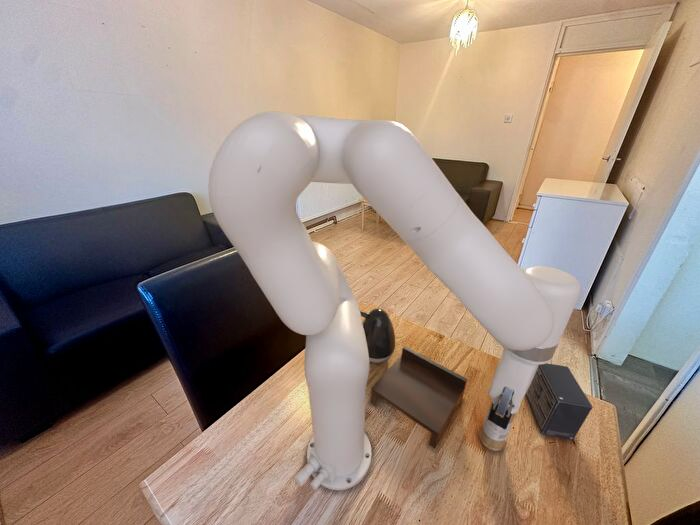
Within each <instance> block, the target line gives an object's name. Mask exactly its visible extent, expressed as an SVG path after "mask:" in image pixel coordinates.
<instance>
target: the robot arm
mask: <svg viewBox="0 0 700 525" xmlns="http://www.w3.org/2000/svg"><path fill="white" fill-rule="evenodd" d="M311 183H324V184H340V185H341V184H342V185H343V184H344V185H352V186H353V187H354V188H355V190H356V191H357V193H358V194H359V195H360V196H361V197H362V198H363V199H364V201H366V202H367V203H368V205H370V207H371V208H372V209H373V210H374V212H376V213H377V214H378V215H379V217H381V218H382V219H383V221H384V222H386V223H387V224H388V226H389V227H390V228H391V229H392V230H393V231H394V232H395V233H396V234H397V235H398V236H399V237H400V239H401V240H402V241H403V242H404V243H405V245H407V246H408V248H410V250H411V251H412V252H413V253H414V254H415V255H416V256H417V257H418V259H419V261H421V262H422V264H423V265H424V266H425V267H426V268H427V269H428V270H429V271H430V272H431V274H432V275H434V277H436V279H438V280H439V281H440V282H441V283H442V284H443V285H444V286H445V287H446V288H447V289H448V290H449V291H450V292H451V293H452V294H453V295H454V297H456V299H457V300H458V301H459V302H460V303H461V304H462V306H464V308H465V309H466V310H467V311H468V312H469V314H470V315H472V317H473V318H474V319H475V321H477V322H478V323H479V324H480V325H481V327H483V329H484V330H485V331H486V332H487V333H488V334H489V335H490V336H491V337H492V338H493V339H494V340H495V342H496V343H498V344H499V345H500V346H502V348H503V350H502V352H501V354H500V357H499V361H498V363H497V365H496V368H495V371H494V375H493V377H492V380H491V383H490V386H489V388H488V390H487V394H488V397H490V398H491V399H492V398H496V400H495V403H494V404H493V405H492V407H491V410H490V413H489V416H488V420H489V421H491V422H493V423H494V424H496V425H498V426H499V427H501V428H503V429H506V428H507V426H508V423H509V421H510V418H511V416H512V414H511V411H512V409H517V408H518V407H519V405H520V406H521V404H522V402H523V401H524V400H523V399H524V398H525V397H526V392H527V390H528V388H529V386H530V384H531V382H532V380H533V378H534V375H535V373H536V371H537V368H538V366H539V364H546V363H548V364H549V363H550V362H551V361H552V359H553V357H554V355H555V353H556V350H557V348H558V346H559V343H560V341H561V339H562V337H563V334H564V332H565V330H566V329H567V328H566V327H567V325H568V323H569V321H570V318H571V316H572V313H573V311H574V309H575V307H576V305H577V303H578V300H579V298H580V295H581V291H582V286H581V283H580V281H579V280H578V279H577V278H576V277H575V276H574V275H572V274H571V273H570V272H569V273H568V272H566V271H564V270H562V269H558V268H555V267H551V266H545V265H542V266H541V265H537V266H536V265H535V266H530V267H526V268H524V267H521V266H519V264H518V263H517V262H516V261H515V260H514V258H512V256H511V255H510V254H509V253H508V252H507V251H506V250H505V249H504V247H503V246H502V245H501V244H500V243H499V241H498V240H496V238H495V236H494V235H493V234H492V233H491V231H490V230H489V229H488V228H487V227H486V226H485V225H484V223H483V222H482V221H481V220H480V219H479V218H478V217H477V216H476V214H474V213H473V211H472V210H471V209H470V207H469V206H468V204H467V203H466V202H465V200H464V199H463V198H462V197H461V196H460V194H459V193H458V192H457V191H456V189H455V188H454V186H453V185H452V184H451V182H450V181H449V179H448V178H447V177H446V175H445V174H444V173H443V172H442V170H441V169H440V167H439V166H438V165H437V163H436V161H434V159H433V158H432V156H431V155H430V154H429V153H428V151H427V149H426V148H425V147H424V146H423V145H422V143H421V142H420V141H419V139H418V138H417V137H416V135H414V133H412V131H411V130H410V129H408V127H406V126H404V125H403V124H402V123H399V122H397V121H394V120H388V119H387V120H386V119H349V118H348V119H346V118H335V117H325V116H314V115H313V116H312V115H304V114H295V113H286V112H284V111H283V112H282V111H262V112H259V113H255V114H253V115H251V116H249V117H248V118H246V119H243V120H242V121H241V122H240V123H239V124H237V125H236V126H235V127H234V128H233V129H232V130H231V131H230V132H229V134H227V136H226V137H225V139H224V140H223V141H222V143H221V144H220V146H219V148H218V150H217V152H216V154H215V156H214V158H213V160H212V163H211V167H210V170H209V175H208V185H207V186H208V198H209V204H210V207H211V210H212V213H213V215H214V218H215V220H216V222H217V224H218V225H219V227H220V229H221V230H222V232H223V234H224V235H225V236H226V238H227V239H228V241H229V242H230V244H231V245H232V246H233V248H234V249H235V250H236V252H237V253H238V255H239V256H240V257H241V259H242V261H243V262H244V264H245V265H246V267H247V268H248V270H249V272H250V274H251V276H252V277H253V279H254V280H255V282H256V284H257V285H258V286H259V288H260V289H261V291H262V292H263V294H264V297H265V298H266V299H267V301H268V302H269V303H270V306H271V307H272V308H273V310H274V311H275V313H276V314H277V316H278V317H279V319H280V320H281V322H282V323H283V324H284V325H285V326H286V327H287V328H288V329H290V330H291V331H293V332H294V333H297V334H299V335H303V336H305V348H304V349H305V350H304V377H305V381H306V384H307V389H308V390H307V391H308V399H309V408H310V417H311V418H310V419H311V428H312V436H311V437H310V439H309V442H308V445H307V448H306V449H307V450H306V464H305V466H303V467H302V468H301V469H300V470H299V472H297V474H296V475H295V476H294V480H295V482H296V484H297V485H298V486H299V487H300V488H302V487H303V486H304V485H305V484H306V482H307V481H308V480H309V479H310V477H311V476H312V477H313V479H312V481H311V482H310V483H309V484H310V486H311V488H312V489H313V490H314V491H317V490H318V488H319V487H320V486H322V487H324V488H326V489H329V490H332V491H344V490H345V491H346V490H348V489H352V488H353V487H355V486H356V485H358V484H359V483H360V482H361V481H362V480H363V479H364V478H365V476H366V475H367V474H368V471H369V469H370V467H371V463H372V456H373V454H372V452H373V450H372V445H371V441H370V438H369V436H368V435H367V433H366V432H365V431H366V430H365V428H366V425H365V424H366V397H367V385H368V380H369V376H370V361H369V354H368V347H367V342H366V337H365V331H364V328H363V317H362V316H361V313H360V311H361V310H360V306H359V304H358V301H357V299H356V297H355V294H354V292H353V291H352V288H351V286H350V284H349V282H348V280H347V278H346V276H345V273H344V271H343V269H342V266H341V265H340V263H339V261H338V259H337V257H336V256H335V254H334V253H333V252H332V251H331V249H329V248H328V247H327V246H325V245H324V244H322V243H321V242H317V241H312V240H313V239H312V238H311V235H310V233H309V232H308V230H307V228H306V226H305V224H304V222H303V221H302V220H301V219H300V217H299V215H298V213H297V207H296V206H297V200H298V198H300V195H302V193H303V192H304V191H305V190H306V188H308V186H309V185H310V184H311ZM502 393H503V394H502ZM511 398H512V399H511ZM499 400H500V403H499ZM498 403H499V404H498ZM508 404H509V405H510V406H509V409H507V406H508ZM519 408H520V407H519Z"/></svg>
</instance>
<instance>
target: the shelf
mask: <svg viewBox="0 0 700 525" xmlns="http://www.w3.org/2000/svg"><path fill="white" fill-rule="evenodd" d="M467 382H468V378H466V377H464V376H463V375H461V374H459V373H457V372H455V371H453V370H451V369H449V368H447V367H446V366H443V365H441V364H440V363H438V362H436V361H434V360H432V359H430V358H428V357H427V356H424V355H423V354H421V353H419V352H417V351H416V350H413V349H411V348H410V347H408V346H406V345H404V346H403V347H402V348H401V355H400V356H399V358H398V359H396V360H395V362H394V363H393V364H392V365H391V366H390V367H389V368H388V369H387V370H386V372H385V373H384V374H383V375H382V376H381V377H380V378H379V379H378V380H377V381H376V382H375V383H374V385H373V386H372V387H370V388H371V392H370V404H372V405H373V406H374V407H376V405H377V404H378V403H379V401H381V400H383V401H384V402H386V403H387V404H388V405H389V406H392V407H393V408H394V409H396V410H397V411H398V412H400V413H402V414H403V415H404V416H406V417H408V419H410V420H412V421H413V422H415V423H416V424H417V425H419V426H420V427H422V428H423V429H424V430H426V431H428V432H429V433H431V437H430V440H429V441H430V442H429V446H430V447H432V449H434V450H436V448H437V447H438V444H440V441H441V439H442V437H443V436H444V434H445V432H446V430H447V429H448V427H449V425H450V423H451V421H452V420H453V418H454V416H455V415H456V412H457V411H458V409H459V407H460V405H461V404H462V402H463V398H464V394H465V391H466V386H467Z"/></svg>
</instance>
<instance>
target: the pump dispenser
mask: <svg viewBox="0 0 700 525" xmlns="http://www.w3.org/2000/svg"><path fill="white" fill-rule="evenodd" d="M360 313H361V318H364V319H363V320H362V323H363V328H364V331H365V337H366V342H367V347H368V354H369V363H370V362H371V363H374V364H379V363H383V362H386V361H387V360H389V358H390V357H391V356H392V355H393V353H394V352H395V349H396V334H395V329H394V325H393V323H392V320H391V318H390V316H389V314H388V313H387V312H386V311H385V310H384V309H382V308H373V309H372V310H370V311H369V312H365V311H363V310H360Z"/></svg>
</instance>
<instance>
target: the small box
mask: <svg viewBox="0 0 700 525" xmlns="http://www.w3.org/2000/svg"><path fill="white" fill-rule="evenodd" d="M525 397H526V399H527V402H528V405H529V407H530V409H531V413H532V414H533V417H534V419H535V423H536V425H537V427H538V429H539V432H540V434H541V435H542V436H548V437H554V438H558V439H563V440H568V441H574V440H575V438H576V436H577V434H578V432H579V431H580V429H581V428H582V426H583V424H584V423H585V421H586V419H587V418H588V417H589V414H590V413H591V411H592V409H593V408H594V407H593V405H592V403H591V402H590V400H589V398H588V397H587V396H586V393H585V392H584V390H582V387H581V385H580V384H579V383H578V381H577V379H576V377H575V376H574V375H573V373H572V371H571V369H570V368H569V367H568V366H566V365H561V364H560V365H559V364H555V363H549V362H548V363H546V364H539V366H538V368H537V371H536V373H535V375H534V378H533V380H532V382H531V384H530V386H529V388H528V390H527V392H526V394H525Z"/></svg>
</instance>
